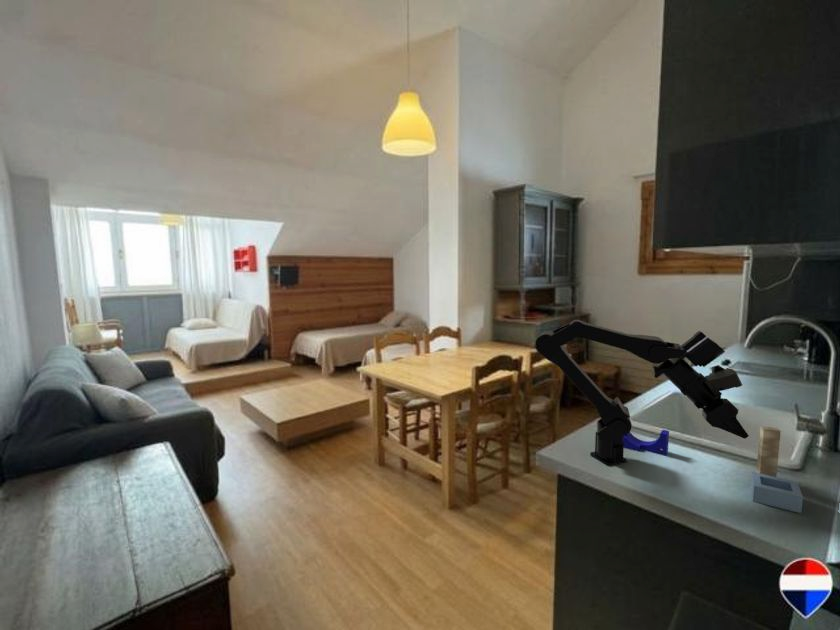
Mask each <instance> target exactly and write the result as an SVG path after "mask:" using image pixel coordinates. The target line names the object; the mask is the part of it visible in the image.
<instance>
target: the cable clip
mask: <svg viewBox="0 0 840 630" xmlns="http://www.w3.org/2000/svg"><path fill="white" fill-rule="evenodd" d="M669 438H670V430H667V429H662V430H661V431H660V434H659V437H658V438H657V439H655V440H652V441H651V440H650V441H647V440H641V439H639V438H637V437H636V436H635V435H633V434H632V433H631V431H630V432H629V433H628V434H626V435H624V436H623V438H622V439H623V446H624V449H629V450H632V449H633V450H634V451H636V450H637V452H640V450H642V451H645V450H646V452H650V453H653V454H657V455H658V454H659V455H660V456H667V455H668V452H669V441H670V439H669Z"/></svg>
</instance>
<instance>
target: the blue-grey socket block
mask: <svg viewBox="0 0 840 630" xmlns="http://www.w3.org/2000/svg"><path fill="white" fill-rule="evenodd" d="M750 473H751V476H750V486H749V487H750V492H751V498H752V500H751V501H752V502H755V503H759V504H763V505H767V506H771V507H775V508H779V509H783V510H787V511H790V512H793V513H799V514H802V510H803V509H802V508H803V501H804V496H803V493H802V491H801V488H800V485H799V483H798V481H795V480H791V479H787V478H782V477H777V476H776V477H774V476H769V475H764V474H760V473H756V471H755V472H754V471H751V472H750Z"/></svg>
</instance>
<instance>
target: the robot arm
mask: <svg viewBox="0 0 840 630" xmlns="http://www.w3.org/2000/svg"><path fill="white" fill-rule="evenodd" d="M576 338H581V339H586V340H589V341H593V342H597V343H598V344H604V345H606V346H610V347H614V348H617V349H621V350H624V351H627V352H628V353H631V354H633V355H634V356H636V357H638V358H640V359H642V360H645V361H646V362H649V363H652V375H653V377H654V378H655V379H658V378H659V377H660V376H662V375H663V376H664V377H665V378H667V380H668V381H670V383H672V384H673V385H674V386H675V387H676V388H677V389H678V390H679V391H680V392H681V394H682V395H683V396H685V397H687V398H688V400H689V401H691V402H692V403H693V405H694V407H696V408H697V409H702V414H701V415H702V417H703V418H704V420H705V421H706V422H707V423H708V424H709V425H710V426H711V427H713V428H717V429H720V430H722V431H725V432H728V433H730V434H732V435H735V436H738V437H739V438H742V439H747V438H749V436H750V435H749V433H748V432H747V431H746V429H744V427H743V426H742V424H741V423H740V421H739V420H738V418H737V415H738V414H739V409H738V408H737V406H735V405H734V404H733V403H732V402H731V401H730V400H729V399H728V398H723V397H722V395H723V393H722V391H727V390H730V389H734V388H736V389H737V388H740V387H742V386H743V383H742V380H741V379H740V377H739V374H738V373H737V372H736V370H734V369H733V368H729V367H726V368H723V366H721V365H720V364H717V365H714V366H712V367H711V372H709V374H708V375H705V376H704V374H702V373H701V372H698V371H697V370H696V369H695V368H694V367H692V365H694V366H695V367H696V368H697V367H698V366H699V367H704V368H705V367H706V366H708V365H709V364H710V363H712V362H714V361H715V360H716V359H718V358H719V357H720V356H722V355H723V354H724V353H726V351H725V349H723V348H722V347H721V346H720V345H719V344H718V343H717V342H716V341H714V340H712V339H710V337H708V336H707V335H706V334H705V333H704V332H702V331H701V330H698V331H697V332H696V333H694V334H693V336H691V337H690V338H689V339H688V340H686V341H685V342H684V343H682V344H680V343H676V342H675V343H674V342H668V341H665V340H664V339H662V338H661V337H660V336H655V335H647V334H630V333H626V332H621V331H618V330H615V329H611V328H608V327H603V326H599V325H595V324H593V323H588V322H585V321H582V319H581V320H580V319H574V320H572V321H571V322H570V323H567V324H565V325H563V326H560V327H558V328H556V329H554V330H545V331H544V330H543V332H541V333H540V335H538V337H537V339H536V340H535V344H534V345H535V350H536V351H537V352H538V354H540V355H541V356H542V357H543V358H545V359H546V360H547V361H549V362H551V363H552V364H554V365H555V366H556V367H558V368H559V369H560V370H561V371H562V372H563V374H564V375H566V377H567V378H568V379H569V380H570V381H571V383H573V385H574V386H575V387H576V388H577V389H578V390H579V391H580V392H581V394H582V395H583V396H584V397H585V398H586V399H587V400H588V402H590V403H591V405H593V407H594V408H595V410H596V412H597V414H598V415H599V417H600V418H599V419H598V420H597V422H596V429H597V431H595V437H594V438H595V440H594V442H595V443H594V451H592V452H589V455H590V456H592V457H593V458H595V459H596V460H597V461H600V462H602V463H603V464H605V465H606V466H611V465H615V464H620V463H621V464H622V463H625V462H627V461H628V459H627V458H626V457H624V449H625V447H624V446H623V439H622V438H623V436H624V435H626V434H628V433H629V432H630V433H631V430H632V427H633V426H632V421H631V416H630V411H629V408H628V407H627V406H626V405H624V404H623V403H622V402H621V400H620V398H618V396H616V397H615V398H614V399H613V398H610V397H608V395H606V394H605V393H604V392H603V390H602V389H601V388H600V387H599V386H598V385H597V384H596V383H595V382H594V381H593V380H592V378H591V377H590V376H589V375H588V374H587V372H585V371H584V370H583V369H582V368H581V367H580V366H579V364H578V363H577V362H576V361H575V360H574V358H573V357H571V354H569V352H568V350H567V348H566V346H565V344H568V343H569V342H571V341H572V340H574V339H576ZM685 358H686V359H687V360H688V361H689V362H690V363H691V364H692V365H691V364H689V363H688V362H687V361H686V360H685Z"/></svg>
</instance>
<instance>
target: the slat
mask: <svg viewBox="0 0 840 630" xmlns="http://www.w3.org/2000/svg"><path fill="white" fill-rule="evenodd" d="M781 434H782V433H781V430H780V429H779V427H772V426H765V425H763V426H762V425H760V428H759V439H758V440H759V441H758V448H757V449H758V451H757V463H756V471H755V473H760V474H764V475H769V476H774V477H777V475H778V465H779V453H780V442H781Z"/></svg>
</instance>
